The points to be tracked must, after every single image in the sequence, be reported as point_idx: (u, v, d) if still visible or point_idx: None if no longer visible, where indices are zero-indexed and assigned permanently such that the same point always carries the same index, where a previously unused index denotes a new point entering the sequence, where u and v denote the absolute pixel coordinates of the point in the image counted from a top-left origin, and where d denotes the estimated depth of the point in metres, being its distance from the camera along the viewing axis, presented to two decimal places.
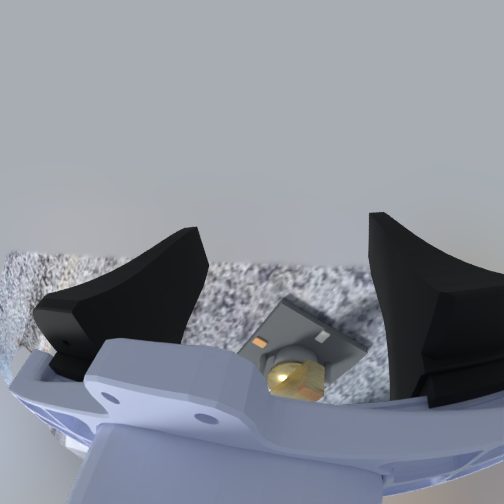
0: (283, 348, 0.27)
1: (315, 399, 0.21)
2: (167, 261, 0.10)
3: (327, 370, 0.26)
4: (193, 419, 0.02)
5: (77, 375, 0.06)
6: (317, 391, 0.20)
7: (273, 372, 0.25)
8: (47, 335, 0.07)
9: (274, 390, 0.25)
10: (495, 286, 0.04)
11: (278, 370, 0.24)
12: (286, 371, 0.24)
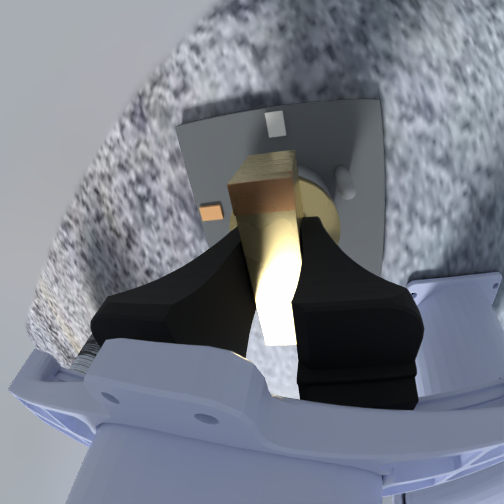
0: None
1: (287, 204, 0.08)
2: (238, 257, 0.09)
3: (338, 174, 0.12)
4: (193, 419, 0.02)
5: None
6: (268, 178, 0.08)
7: None
8: None
9: None
10: (364, 300, 0.04)
11: (236, 223, 0.13)
12: None
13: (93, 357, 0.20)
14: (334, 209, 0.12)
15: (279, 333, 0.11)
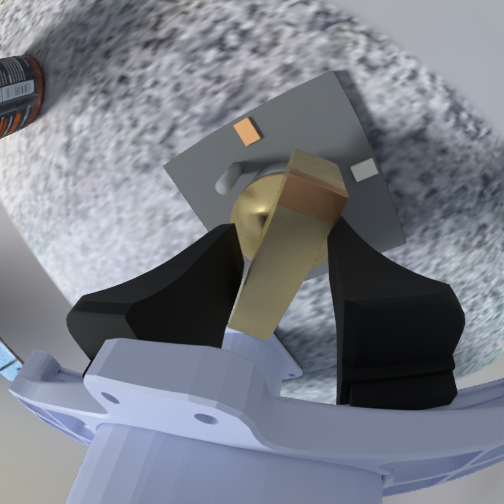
0: (283, 162, 0.14)
1: (331, 217, 0.08)
2: (211, 258, 0.10)
3: None
4: (193, 419, 0.02)
5: None
6: (327, 187, 0.08)
7: (236, 210, 0.12)
8: (82, 343, 0.06)
9: (252, 256, 0.13)
10: (415, 295, 0.04)
11: (245, 201, 0.12)
12: (261, 199, 0.12)
13: None
14: None
15: (246, 321, 0.12)
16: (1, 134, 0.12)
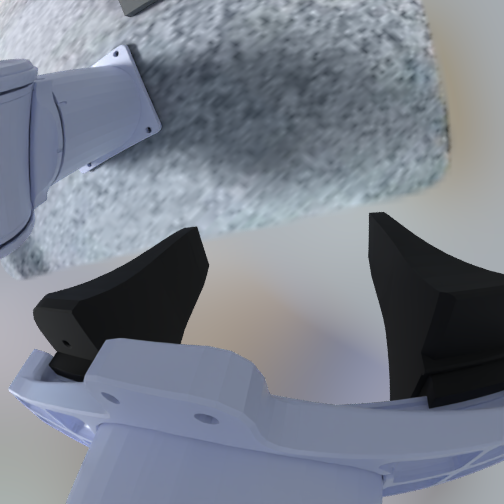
0: None
1: None
2: (168, 261, 0.10)
3: None
4: (193, 419, 0.02)
5: (77, 375, 0.06)
6: None
7: None
8: (47, 335, 0.07)
9: None
10: (495, 286, 0.04)
11: None
12: None
13: None
14: None
15: None
16: None
